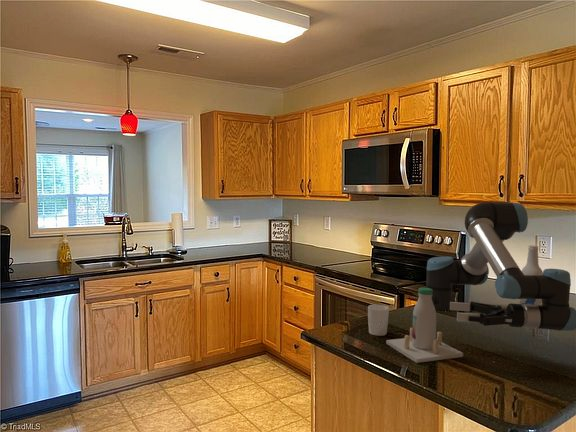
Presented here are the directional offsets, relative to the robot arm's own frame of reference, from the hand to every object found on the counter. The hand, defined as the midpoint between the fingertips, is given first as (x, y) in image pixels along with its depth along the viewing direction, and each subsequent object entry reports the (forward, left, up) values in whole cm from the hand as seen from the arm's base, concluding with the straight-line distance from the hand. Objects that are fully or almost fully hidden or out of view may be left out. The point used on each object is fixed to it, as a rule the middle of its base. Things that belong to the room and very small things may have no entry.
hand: (453, 311), depth 145 cm
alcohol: (-34, +72, -14) cm, 81 cm away
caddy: (-5, -8, -14) cm, 17 cm away
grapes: (-21, +56, -14) cm, 61 cm away
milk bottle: (-5, -8, -13) cm, 16 cm away
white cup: (-25, -14, -14) cm, 32 cm away
